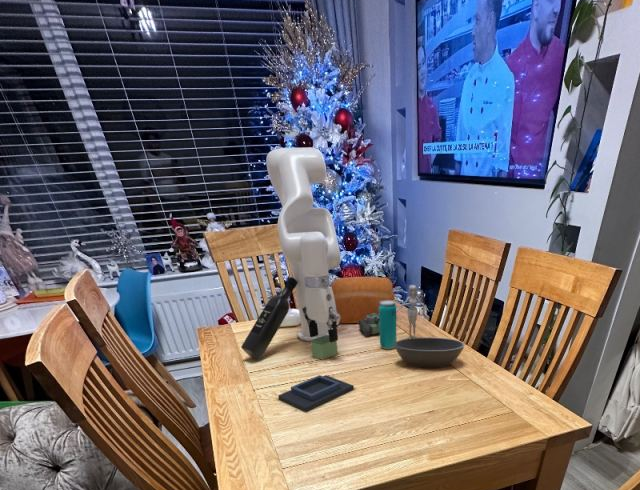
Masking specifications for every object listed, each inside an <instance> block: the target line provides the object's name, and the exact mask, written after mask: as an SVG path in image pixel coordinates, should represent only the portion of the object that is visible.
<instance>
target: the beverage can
mask: <svg viewBox="0 0 640 490" xmlns="http://www.w3.org/2000/svg"><path fill="white" fill-rule="evenodd" d="M396 311H397V305H396V301H395V300H394V301H393V300H383V301H380V306H379V323H380V334H379V344H380V347H381V348H382V349H383V350H394V349H396V348H395V345H394V343H395V342H397V341H398V340H397V313H396Z"/></svg>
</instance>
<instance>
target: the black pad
mask: <svg viewBox="0 0 640 490" xmlns="http://www.w3.org/2000/svg"><path fill="white" fill-rule="evenodd" d="M354 389H355V386H354V385H353V384H351V383H348V382H345V381H343V380H340V379H338V378H335V377H333V376H330V375H327V374H325V375H321V374H319V375H316V376H314V377H311V378H309V379H307V380H305V381H302V382H300V383H297V384H294V385H292V386H290V389H289V390H288V391H285V392H282V393H281V394H278V395H277V396H278V400H280V401H282V402H284V403H286V404H288V405H290V406H292V407H295V408H296V409H298V410H301V411H302V412H306V413H307V412H309V411H312V410H313V409H316V408H317V407H319V406H322V405H324V404H326V403H328V402H330V401H332V400H334V399H336V398H338V397H340V396H344V395H345V394H347V393H349V392H351V391H353V390H354Z"/></svg>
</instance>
